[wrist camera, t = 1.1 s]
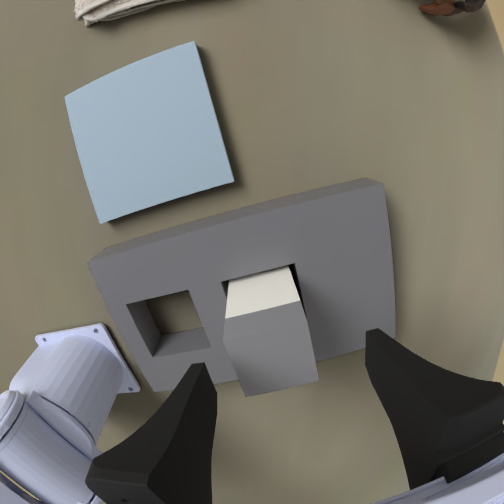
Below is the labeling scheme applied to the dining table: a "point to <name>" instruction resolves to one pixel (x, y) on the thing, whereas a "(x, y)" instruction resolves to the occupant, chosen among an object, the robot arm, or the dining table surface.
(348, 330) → the gray socket board
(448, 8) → the broken clay pot
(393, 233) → the dining table surface
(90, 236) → the dining table surface
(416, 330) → the dining table surface
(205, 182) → the pad
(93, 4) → the washcloth
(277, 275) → the plug
